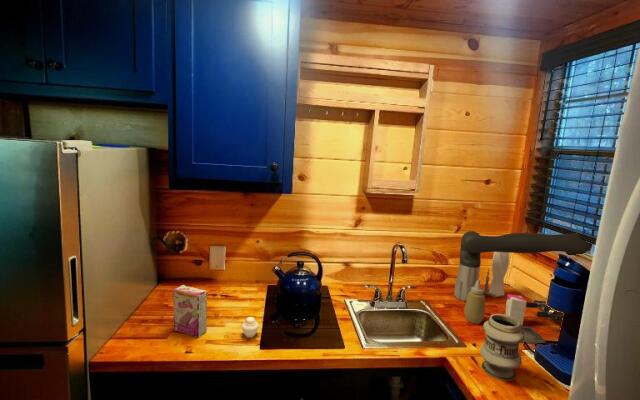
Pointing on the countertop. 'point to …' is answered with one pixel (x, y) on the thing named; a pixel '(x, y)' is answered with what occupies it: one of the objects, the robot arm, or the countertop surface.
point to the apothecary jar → (501, 346)
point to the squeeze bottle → (475, 304)
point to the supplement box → (515, 307)
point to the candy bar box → (190, 310)
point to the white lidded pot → (250, 327)
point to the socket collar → (531, 336)
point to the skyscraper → (497, 274)
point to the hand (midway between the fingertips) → (531, 309)
